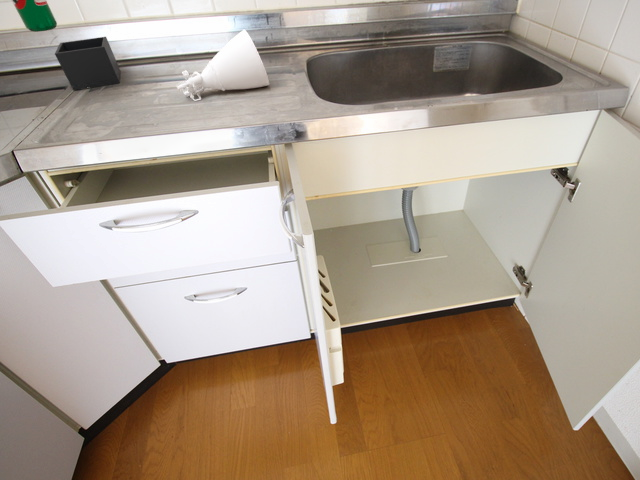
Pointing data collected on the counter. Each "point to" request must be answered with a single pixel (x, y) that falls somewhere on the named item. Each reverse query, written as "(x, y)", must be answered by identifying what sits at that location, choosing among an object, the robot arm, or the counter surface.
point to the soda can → (35, 14)
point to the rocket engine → (229, 69)
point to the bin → (88, 63)
